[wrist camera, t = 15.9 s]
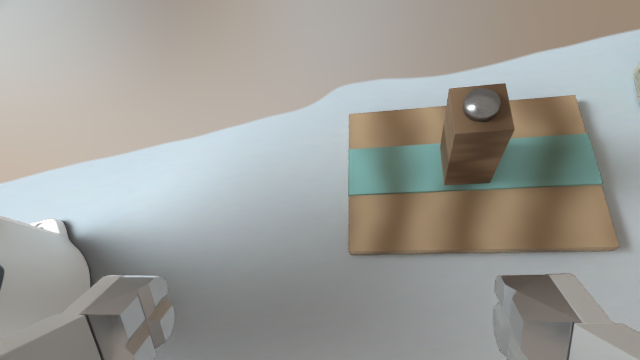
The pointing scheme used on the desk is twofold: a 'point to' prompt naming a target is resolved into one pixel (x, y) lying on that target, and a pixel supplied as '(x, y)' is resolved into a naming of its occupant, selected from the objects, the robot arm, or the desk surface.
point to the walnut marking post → (475, 133)
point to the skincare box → (637, 80)
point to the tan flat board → (476, 186)
